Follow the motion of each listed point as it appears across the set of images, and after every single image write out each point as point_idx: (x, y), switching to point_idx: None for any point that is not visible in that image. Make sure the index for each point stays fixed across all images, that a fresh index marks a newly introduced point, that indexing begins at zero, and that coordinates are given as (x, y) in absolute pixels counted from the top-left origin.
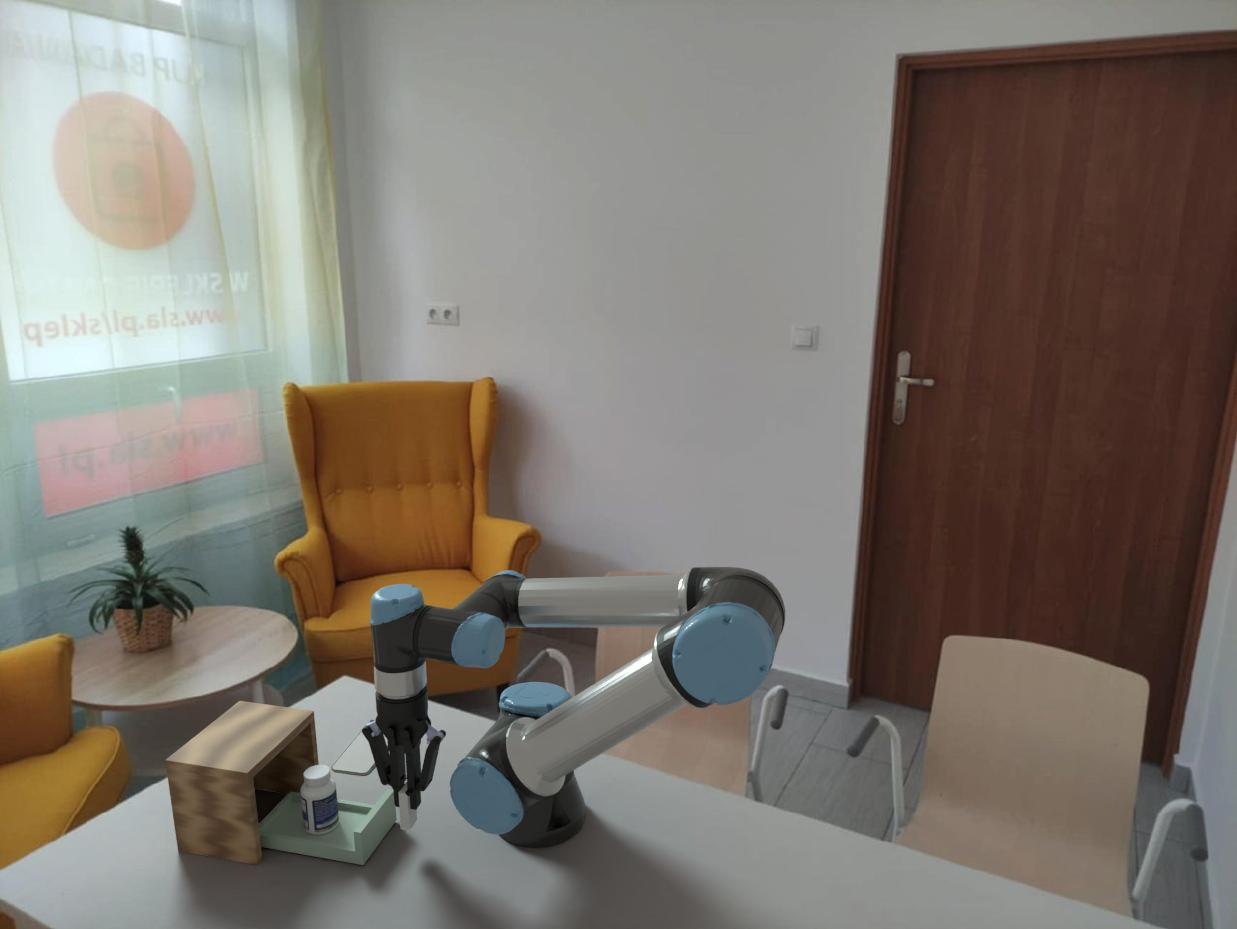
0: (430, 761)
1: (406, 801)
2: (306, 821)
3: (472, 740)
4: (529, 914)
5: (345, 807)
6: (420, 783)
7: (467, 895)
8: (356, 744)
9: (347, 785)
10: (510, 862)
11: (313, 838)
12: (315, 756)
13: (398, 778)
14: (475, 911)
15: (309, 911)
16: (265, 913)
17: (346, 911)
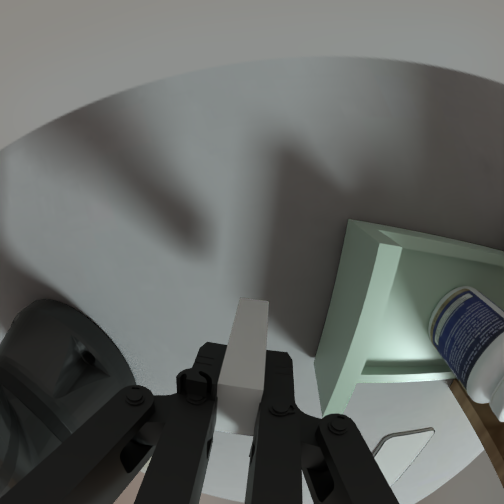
0: (17, 489)
1: (230, 359)
2: (490, 300)
3: (243, 490)
4: (14, 151)
5: (419, 368)
6: (132, 415)
7: (93, 164)
8: (402, 467)
9: (413, 414)
10: (61, 263)
11: (464, 277)
12: (484, 435)
13: (256, 449)
14: (73, 129)
15: (404, 80)
16: (468, 86)
17: (330, 77)
